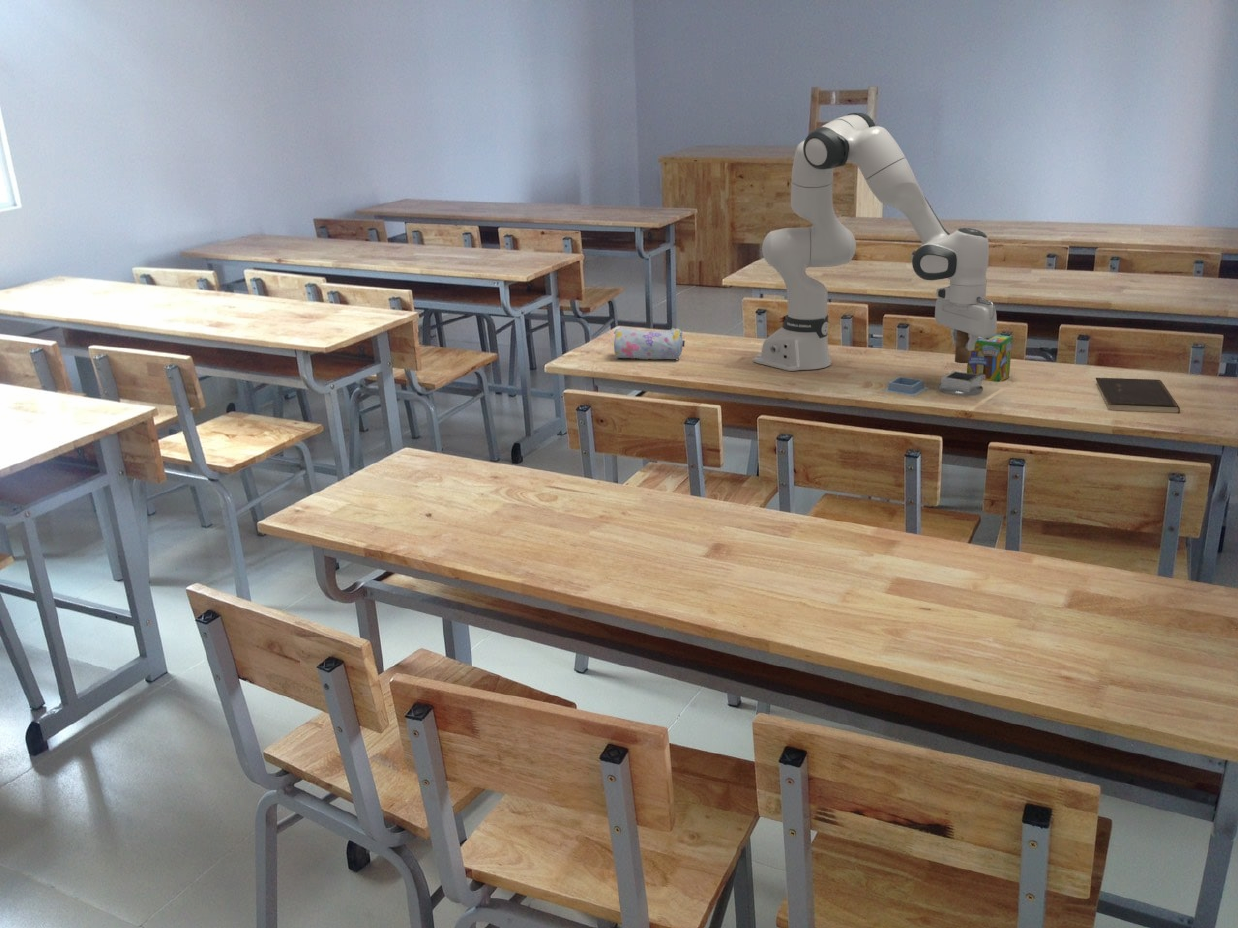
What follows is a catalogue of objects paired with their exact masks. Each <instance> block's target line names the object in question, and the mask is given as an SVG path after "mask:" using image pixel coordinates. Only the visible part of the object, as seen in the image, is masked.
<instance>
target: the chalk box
mask: <svg viewBox="0 0 1238 928" xmlns="http://www.w3.org/2000/svg"><path fill="white" fill-rule="evenodd" d="M1012 345H1013V336H1011V335H1002V334H997V333H996V334H995V336H994V337H989V338H982V337H979V338H978V340H977V341H976V343H975V348H974V350H972V351H970V361H969V363H966V364H967V366H966V373H972V374H979V375H982V378H981V381H991V382H997V383H999V382H1004V381H1005V380H1007V379H1008V378H1010V370H1011V360H1012V359H1011V357H1012Z"/></svg>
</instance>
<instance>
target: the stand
mask: <svg viewBox="0 0 1238 928" xmlns="http://www.w3.org/2000/svg"><path fill="white" fill-rule="evenodd" d="M887 383H888V385H887V387H886V388H884V389H882V391H883V392H889V393H894V394H900V395H907V396H912V397H915V396H917V395H919V394H921V393H922V392H924V391H926V390H927V389H929V388H930V387H929V386H925V380H924V379H918V378H912V377H906V376H898V377H897V378H895V379H892V380H890V381H889V382H887Z"/></svg>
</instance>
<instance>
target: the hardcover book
mask: <svg viewBox="0 0 1238 928" xmlns="http://www.w3.org/2000/svg"><path fill="white" fill-rule="evenodd" d="M1095 380H1096V386H1097V385H1098V386H1097V387H1098V390H1099V391H1100V394H1101V396H1102V398H1103V400H1104V402H1105V405H1106V406H1107V409H1108V410H1109V411H1119V412H1120V411H1124V412H1126V411H1127V412H1145V413H1147V412H1149V413H1171V414H1173V413H1174V414H1180V411H1181V408H1180V406H1179V404H1178V403H1177V402H1176V401H1175V399H1174V397H1173V396H1172V394H1171V393H1170V391H1169V390H1168V389H1167V387H1166V385H1165V384H1164V383H1163V381H1162V379H1153V378H1152V379H1151V378H1119V377H1116V378H1115V377H1095Z"/></svg>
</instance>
